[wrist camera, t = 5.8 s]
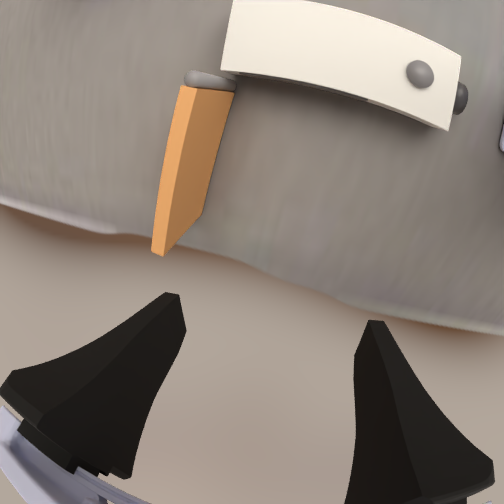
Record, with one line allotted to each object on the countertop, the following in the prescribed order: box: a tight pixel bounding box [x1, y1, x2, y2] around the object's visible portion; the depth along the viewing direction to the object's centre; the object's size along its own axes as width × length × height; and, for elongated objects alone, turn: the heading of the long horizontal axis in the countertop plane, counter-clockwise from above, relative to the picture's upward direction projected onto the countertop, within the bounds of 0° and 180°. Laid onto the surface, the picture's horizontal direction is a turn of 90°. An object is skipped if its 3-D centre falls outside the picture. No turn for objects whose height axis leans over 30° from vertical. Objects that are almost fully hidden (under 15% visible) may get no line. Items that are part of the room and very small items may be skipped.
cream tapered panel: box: [220, 0, 468, 131], centre depth 11 cm, size 14×5×3 cm, turn 81°
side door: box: [151, 70, 236, 256], centre depth 15 cm, size 10×1×6 cm, turn 163°
